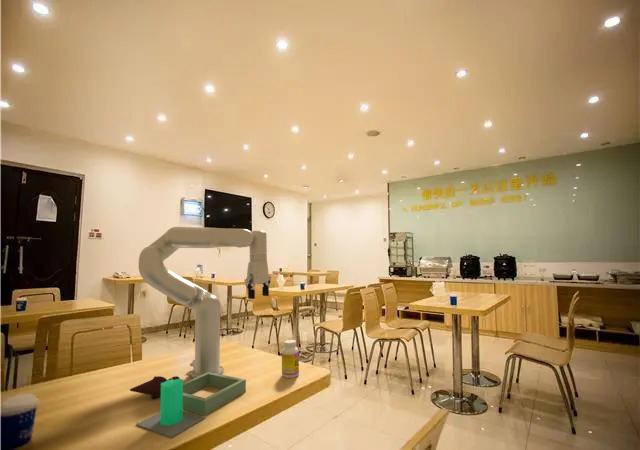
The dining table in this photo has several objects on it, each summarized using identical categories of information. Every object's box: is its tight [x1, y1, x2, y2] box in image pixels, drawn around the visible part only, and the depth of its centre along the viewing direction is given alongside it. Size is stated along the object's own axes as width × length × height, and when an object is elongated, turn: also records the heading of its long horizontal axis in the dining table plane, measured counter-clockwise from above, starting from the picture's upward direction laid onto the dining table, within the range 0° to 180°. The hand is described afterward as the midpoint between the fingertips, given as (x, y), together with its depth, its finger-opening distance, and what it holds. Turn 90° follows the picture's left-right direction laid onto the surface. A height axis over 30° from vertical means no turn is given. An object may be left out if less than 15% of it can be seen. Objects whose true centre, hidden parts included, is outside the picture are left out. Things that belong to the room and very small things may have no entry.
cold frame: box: [183, 372, 247, 416], centre depth 108 cm, size 18×18×4 cm
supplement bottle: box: [281, 339, 300, 379], centre depth 126 cm, size 7×7×13 cm
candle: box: [159, 378, 184, 426], centre depth 93 cm, size 6×6×12 cm
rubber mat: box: [135, 410, 206, 439], centre depth 93 cm, size 15×11×1 cm
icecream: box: [129, 375, 181, 400], centre depth 110 cm, size 7×7×15 cm
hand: (258, 297), depth 143 cm, fingers open, 9 cm apart
